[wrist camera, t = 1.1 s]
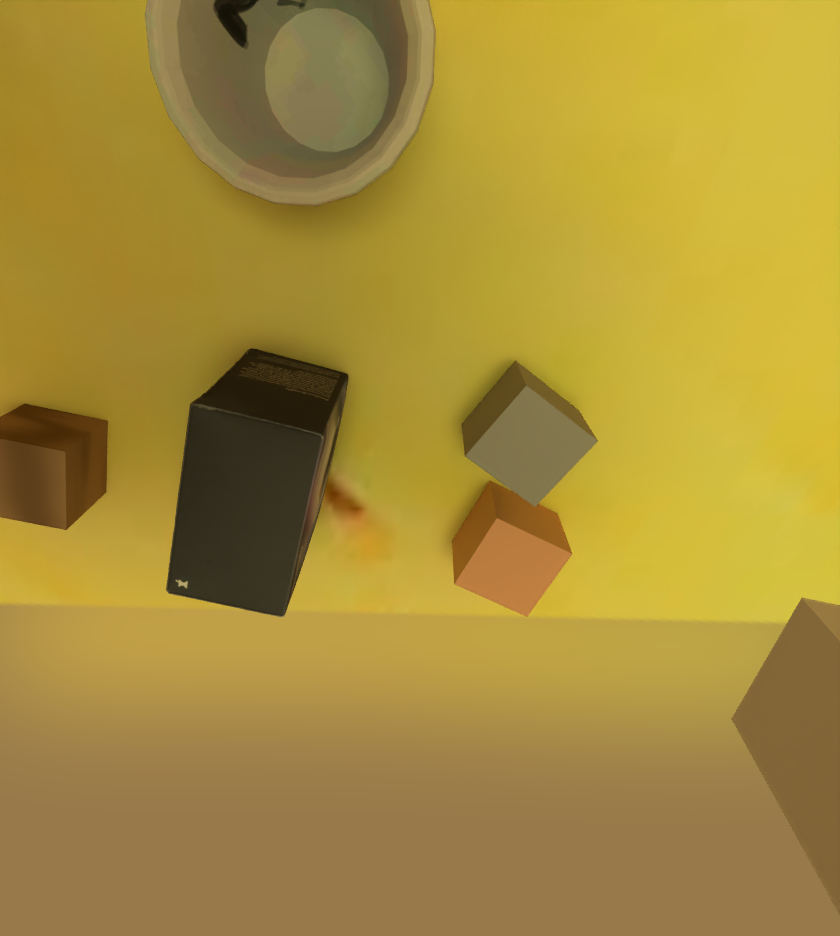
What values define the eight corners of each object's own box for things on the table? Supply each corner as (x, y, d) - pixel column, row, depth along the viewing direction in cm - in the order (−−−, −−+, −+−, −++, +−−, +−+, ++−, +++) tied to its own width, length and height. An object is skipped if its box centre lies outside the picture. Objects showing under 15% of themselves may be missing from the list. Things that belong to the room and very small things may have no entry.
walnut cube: (28, 475, 41) (-23, 512, 37) (25, 403, 39) (-29, 432, 35) (106, 491, 42) (66, 529, 37) (108, 420, 40) (65, 451, 35)
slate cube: (461, 423, 39) (464, 456, 35) (515, 360, 38) (526, 385, 33) (523, 469, 40) (534, 506, 36) (578, 410, 39) (597, 441, 34)
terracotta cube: (452, 540, 43) (454, 584, 38) (489, 480, 41) (496, 518, 36) (517, 570, 43) (527, 616, 39) (557, 512, 42) (572, 553, 37)
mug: (289, 233, 35) (238, 252, 26) (132, -82, 29) (-4, -201, 20) (468, 145, 33) (481, 131, 24) (334, -211, 27) (285, -405, 18)
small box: (320, 524, 42) (287, 625, 33) (222, 501, 42) (158, 596, 32) (355, 373, 38) (329, 438, 28) (246, 344, 37) (181, 401, 28)
